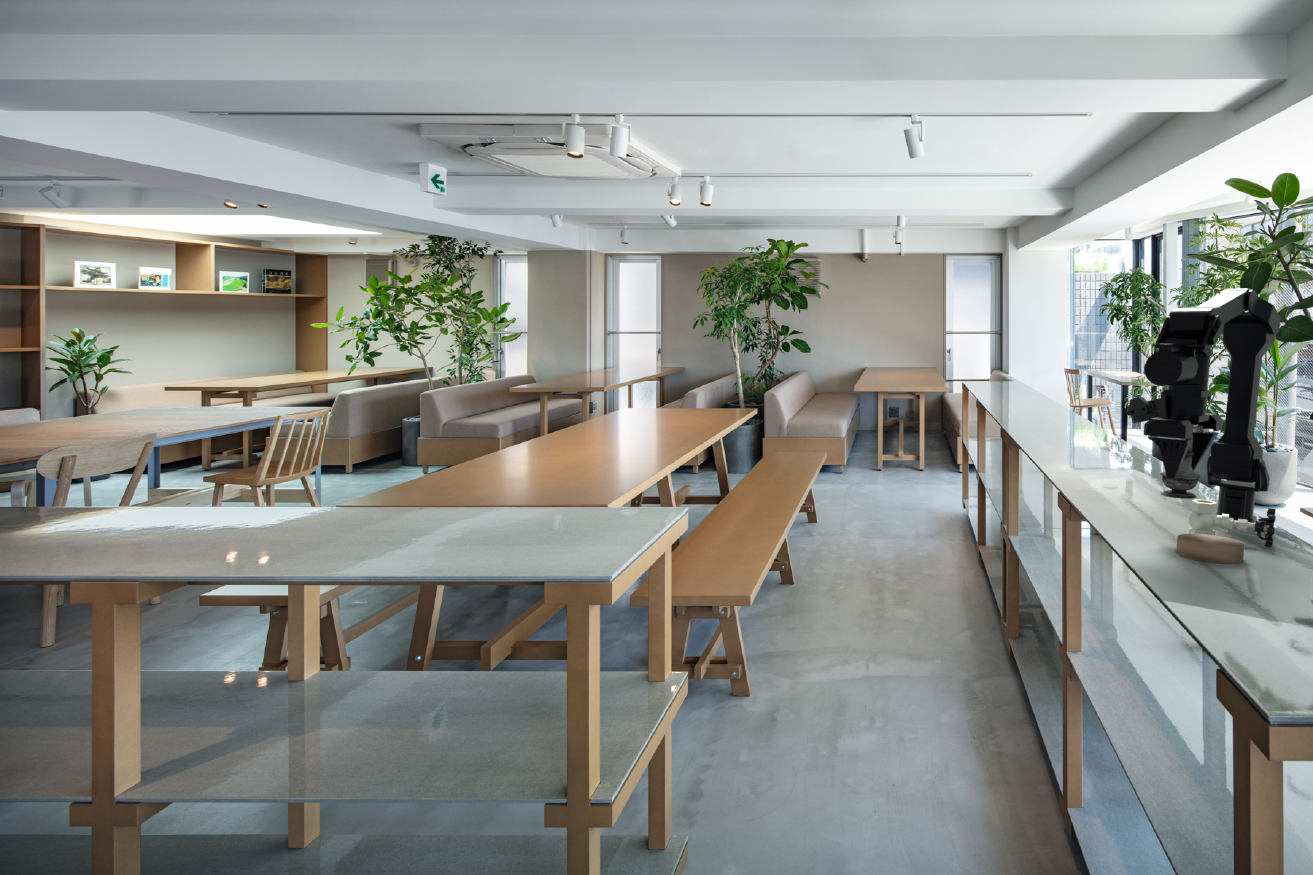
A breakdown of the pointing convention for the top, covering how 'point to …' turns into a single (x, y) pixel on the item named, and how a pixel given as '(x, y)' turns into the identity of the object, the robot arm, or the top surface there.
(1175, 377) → the robot arm
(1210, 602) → the top surface
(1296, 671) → the top surface
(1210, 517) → the valve
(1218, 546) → the tan round disc
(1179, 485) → the salt shaker
